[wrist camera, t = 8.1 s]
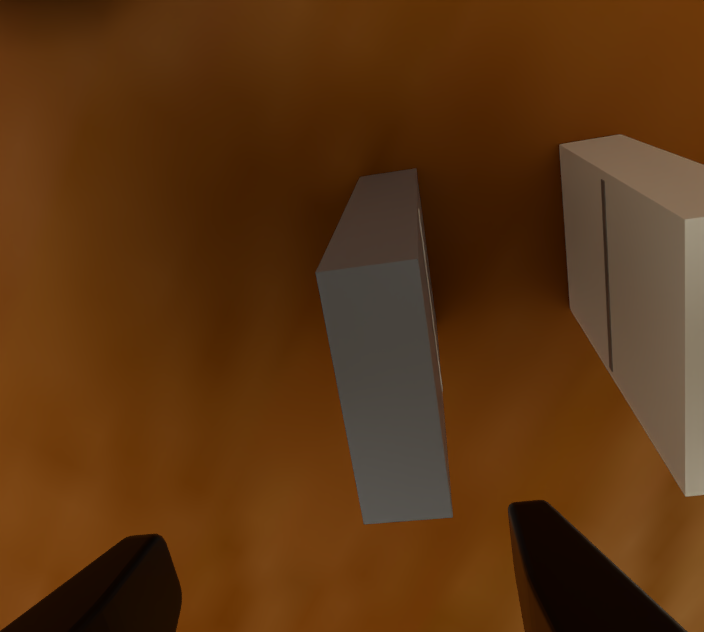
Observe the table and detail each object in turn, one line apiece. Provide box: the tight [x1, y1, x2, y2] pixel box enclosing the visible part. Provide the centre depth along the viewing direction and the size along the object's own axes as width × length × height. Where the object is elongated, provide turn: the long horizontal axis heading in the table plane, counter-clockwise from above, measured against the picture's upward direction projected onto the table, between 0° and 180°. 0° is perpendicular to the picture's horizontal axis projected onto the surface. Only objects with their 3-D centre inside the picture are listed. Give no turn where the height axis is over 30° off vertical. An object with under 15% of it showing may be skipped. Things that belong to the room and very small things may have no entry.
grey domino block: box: [315, 168, 453, 524], centre depth 15 cm, size 2×5×9 cm, turn 10°
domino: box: [559, 134, 704, 496], centre depth 14 cm, size 2×5×9 cm, turn 10°
